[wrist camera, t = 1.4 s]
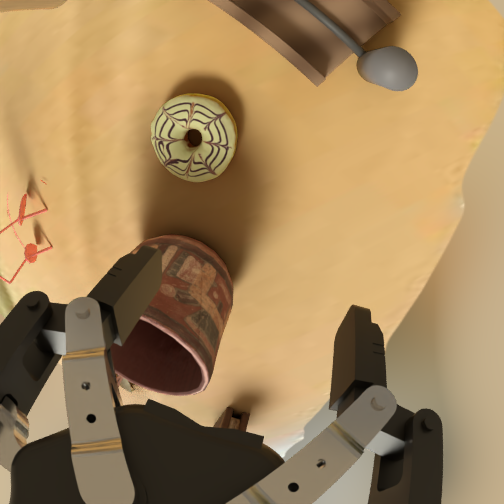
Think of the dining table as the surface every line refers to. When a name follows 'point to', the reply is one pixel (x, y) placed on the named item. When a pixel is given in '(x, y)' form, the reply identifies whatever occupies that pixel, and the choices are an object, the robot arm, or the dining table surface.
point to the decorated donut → (179, 147)
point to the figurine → (29, 249)
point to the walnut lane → (311, 29)
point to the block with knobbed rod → (374, 57)
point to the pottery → (179, 321)
